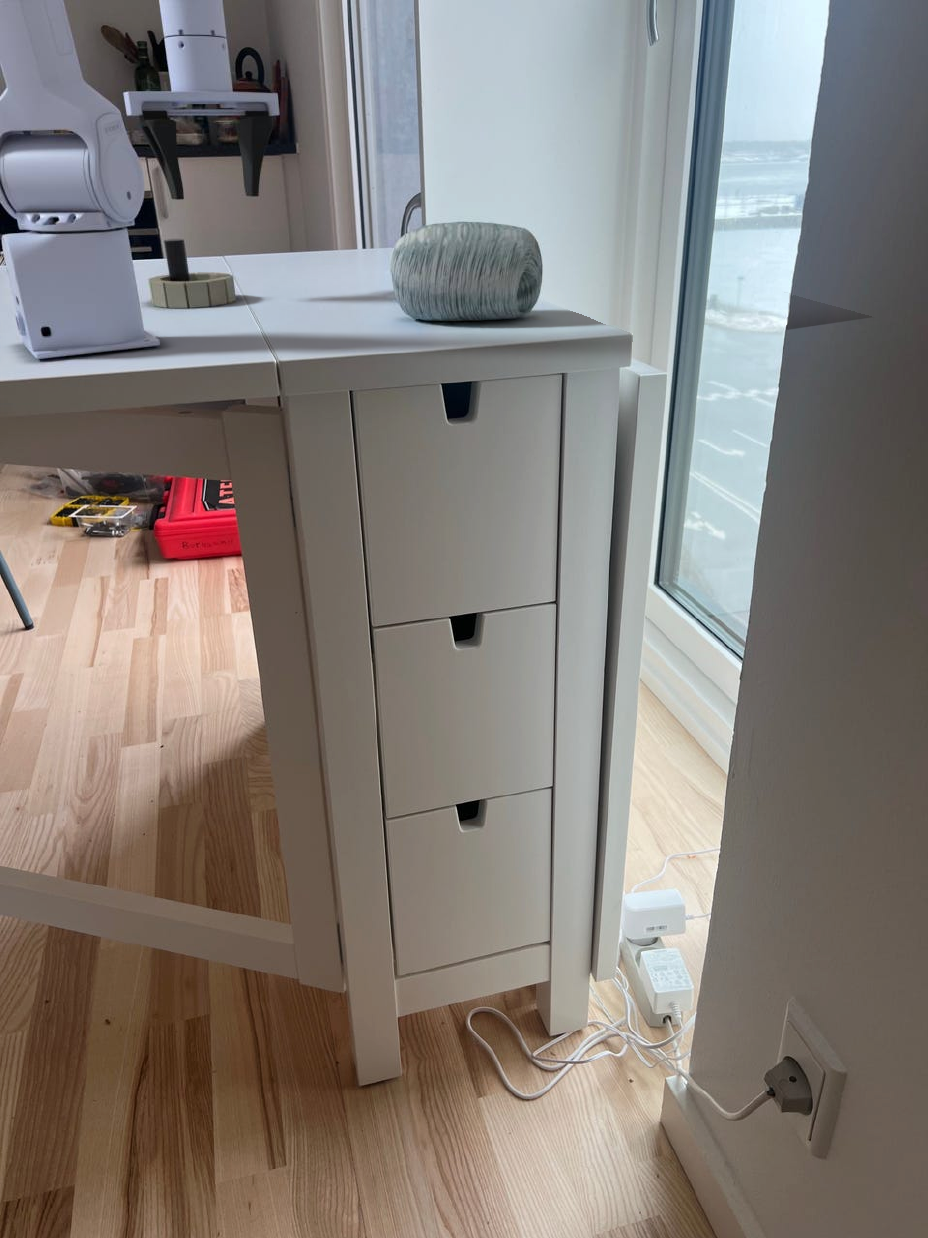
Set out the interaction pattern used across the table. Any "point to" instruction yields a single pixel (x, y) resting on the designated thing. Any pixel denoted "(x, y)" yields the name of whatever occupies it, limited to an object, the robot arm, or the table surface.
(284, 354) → the table surface
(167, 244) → the post
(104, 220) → the robot arm
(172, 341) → the table surface
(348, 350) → the table surface
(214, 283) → the tape roll
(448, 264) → the spool
